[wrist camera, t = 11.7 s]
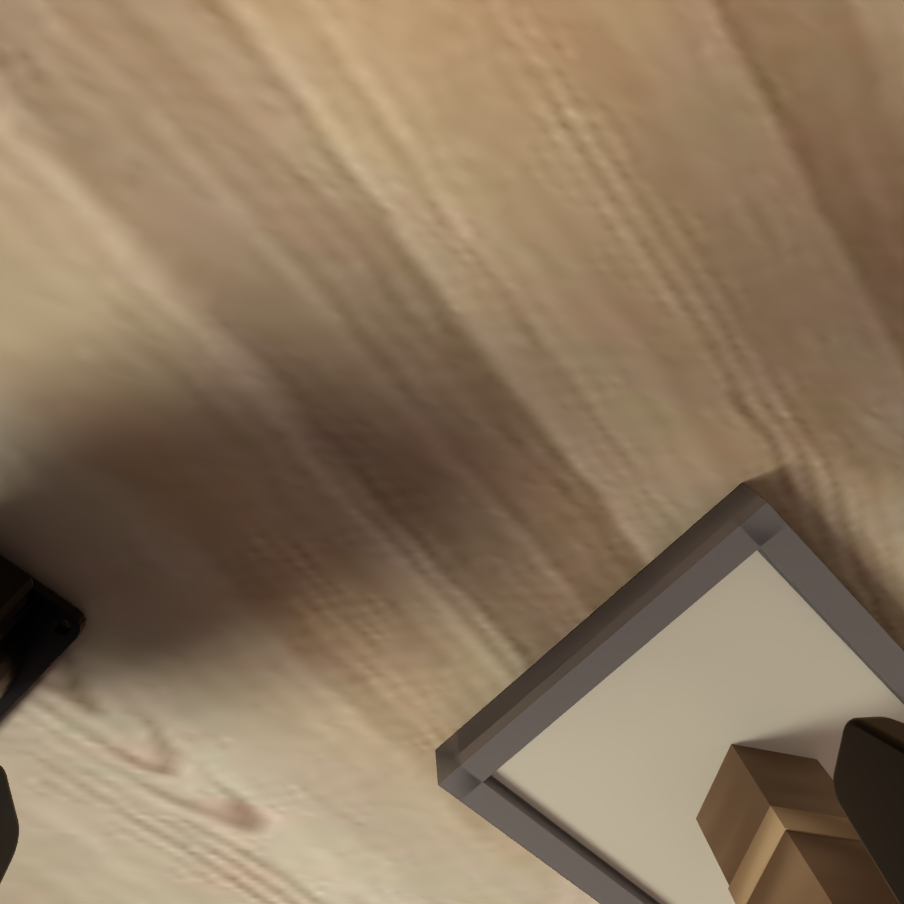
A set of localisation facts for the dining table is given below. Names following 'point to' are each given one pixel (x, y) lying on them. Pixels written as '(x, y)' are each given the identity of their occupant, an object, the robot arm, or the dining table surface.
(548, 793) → the felt tray
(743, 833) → the wooden block
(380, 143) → the dining table surface
